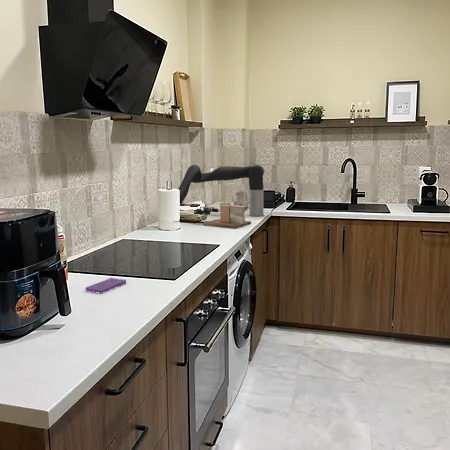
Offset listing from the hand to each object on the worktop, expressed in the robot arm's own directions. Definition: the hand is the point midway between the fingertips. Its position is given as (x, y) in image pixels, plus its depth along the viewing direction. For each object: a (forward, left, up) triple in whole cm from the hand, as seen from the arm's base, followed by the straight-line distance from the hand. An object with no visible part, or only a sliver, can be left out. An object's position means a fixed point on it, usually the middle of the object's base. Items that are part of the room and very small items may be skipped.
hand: (214, 211), depth 277 cm
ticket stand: (+3, +9, -7) cm, 12 cm away
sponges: (+128, -4, -8) cm, 128 cm away
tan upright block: (+3, +8, -5) cm, 10 cm away
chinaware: (-60, +2, -8) cm, 60 cm away
